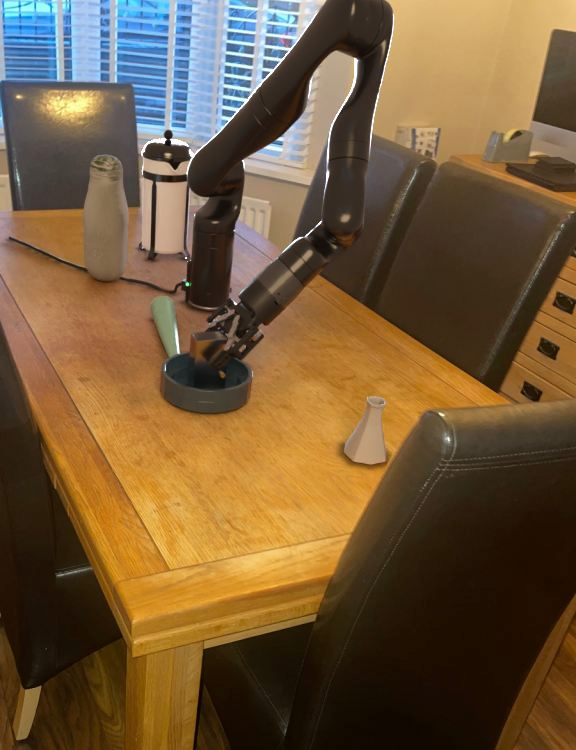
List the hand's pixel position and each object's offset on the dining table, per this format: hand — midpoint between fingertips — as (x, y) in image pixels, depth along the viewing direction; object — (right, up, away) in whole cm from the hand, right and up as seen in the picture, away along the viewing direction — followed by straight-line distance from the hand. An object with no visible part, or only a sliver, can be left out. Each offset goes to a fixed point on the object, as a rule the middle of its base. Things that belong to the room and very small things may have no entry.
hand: (204, 357), depth 140 cm
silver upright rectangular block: (0, -5, +4) cm, 7 cm away
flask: (+27, -18, -9) cm, 33 cm away
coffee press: (-10, +42, +69) cm, 81 cm away
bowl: (0, -6, +4) cm, 7 cm away
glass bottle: (-23, +29, +50) cm, 62 cm away
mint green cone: (-7, +6, +21) cm, 23 cm away
